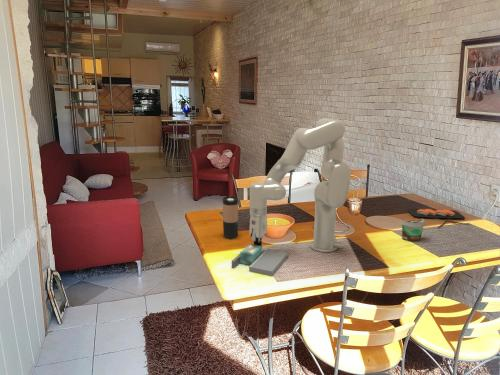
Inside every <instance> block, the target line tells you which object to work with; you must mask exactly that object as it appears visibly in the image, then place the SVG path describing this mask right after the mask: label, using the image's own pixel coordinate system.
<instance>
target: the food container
mask: <svg viewBox="0 0 500 375" xmlns="http://www.w3.org/2000/svg"><path fill="white" fill-rule="evenodd" d="M400 225H401V232H402V233H401V240H403V241H405V242H412V243H414V242H415V243H417V242H420V241H421V239H422V234H423V231H424V227H425V226H426V221H425V219H424V218H421V219H419V220H413V219H412V220H408V221H406V220H401V223H400Z"/></svg>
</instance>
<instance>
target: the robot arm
mask: <svg viewBox="0 0 500 375" xmlns="http://www.w3.org/2000/svg"><path fill="white" fill-rule="evenodd" d="M345 132H346V127H345V125H344V123H343V122H342V121H341V120H338V119H333V118H329V117H328V118H327V117H323V118H320V119H318V120H317V121H316V123H315V127H314V128H307V127H300V128H297V129H296V130H295V132H294V133H293V135H292V137H291V139H290V141H289V142H288V144H287V146H286V148H285V150H284V152H283V154H282V155H281V157H280V158H279V159H278V160H277V162H276V163H275V164H274V165H273V166H272V167H271V169H270V170H269V172H268V173H267V175H266V177H265V180H264V182H259V181H258V182H252V183H251V184H250V185H249V215H250V218H249V231H248V232H249V236H250V237H251V241H252V242H253V245H259V246H262V245H263V243H262V242H263V236H264V235H265V234H266V233H267V232H268V218H267V217H268V215H267V213H268V212H267V211H268V210H267V208H268V207H267V206H268V201H281V200H283V199H284V198H285V197H286V195H287V189H286V187H285V186H284V185H283V184H282V181H283V180H284V178H285V177H286V175H287V174H288V173H289V172H291V171H293V170H295V169H297V168H299V166H300V165H301V163H302V161H303V159H304V158H305V156H306V154H307V152H308V150H309V151H311V150H317V149H319V148H321V147H324V150H323V155H322V156H323V157H322V161H321V167H320V172H321V175H322V177H324V178H325V179H327V180H328V181H326V180H324V181H322V180H321V181H320V182H318V183H317V184H316V186H315V187H314V192H313V194H314V227H313V240H312V241H311V242H310V244H309V247H310V248H311V249H312V250H314V251H316V252H320V253H332V252H334V251H336V250H338V248H344V243H343V242H342V241H339V240H337V238H336V237H335V233H336V220H337V209H339V208H341V207H342V206H343V205H344V204H345V203H346V200H347V198H348V193H349V188H350V183H351V182H350V181H351V177H352V176H351V175H352V172H351V169H350V167H349V165H348V164H347V163H346V162H344V161H343V158H344V152H345V142H344V138H343V136H344V134H345ZM262 247H263V246H262Z"/></svg>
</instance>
